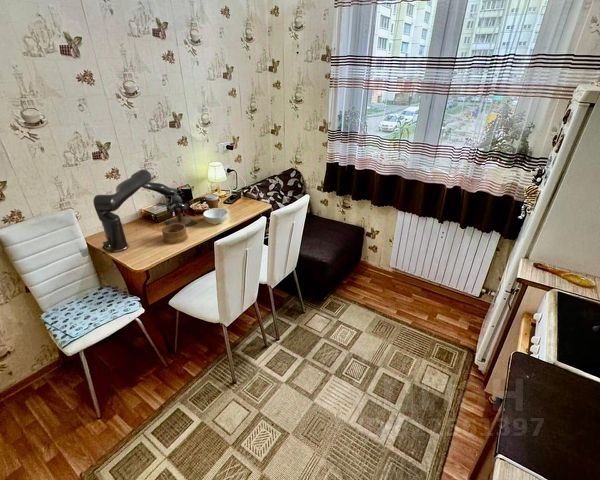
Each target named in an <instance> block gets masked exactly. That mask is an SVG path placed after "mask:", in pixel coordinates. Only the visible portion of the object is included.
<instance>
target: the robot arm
mask: <svg viewBox="0 0 600 480" xmlns="http://www.w3.org/2000/svg"><path fill="white" fill-rule="evenodd" d="M151 181H152V174H151V172H150V171H149V170H147V169H144V168H143V169H140V170H137V171H136V172H134V173H133V174H132V175H131V176H130V177H129V178H127V179H125V180H123V181H122V182H120V183H118V184H117V186H116V188H115V193H113V194H96V195H95V196H94V197H93V201H92V202H93V207H94V209H95V212H96V214H97V217H98V219H99V221H100V222H101V225H102V227H103V228H102V229H103V231H104V236H105V239H106V241H103V242H102V249H103V250H104V251H109V250H110V252H111V253H119V252H124V251H125V250H127V249H128V248H129V244H128V240H127V237H126V235H125V231H124V228H123V224H122V220H121V217H120V216H119V214H117V213H114V212H115V211H117V210H119V208H120V207H122V205H123V203H126V201H127V200H128V199H130V198H131V197H132V196H134V195H135V194H136V193H137V192H138V191H139V190H140V189H141V188H143V189H145V190H146V189H147V190H149V191H153V192H155V193H158V194H160V195H161V196H164V197H168V196H169V195H171V194H174V195H172V196H171V201H170V205H169V204H167V205H166V212H168V213H171V214H174V213H173V212H175V211H177V210H176V209H177V208H180V210H181V211H183V210H184V212H187V211H188V210H190V206H189V203H188V202H185V203H183V200H182V198H181V196H179V195H177V194H175V193H177V189H178V188H175V187H169V186H168V185H166V184H163V183H160V182H153V181H152V182H151Z"/></svg>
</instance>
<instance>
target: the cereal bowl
mask: <svg viewBox="0 0 600 480" xmlns="http://www.w3.org/2000/svg"><path fill="white" fill-rule="evenodd" d="M202 214H203V216H202V217H203V219H204V221H205V222H207V223H209V224H213V225H219V224H222V223H224V222H225V221H227V219H228V217H229V211H228V210H227V209H225V208H221V207H218V208H213V209H209V208H208V209H207V210H205V211H204V212H203V213H202Z"/></svg>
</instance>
